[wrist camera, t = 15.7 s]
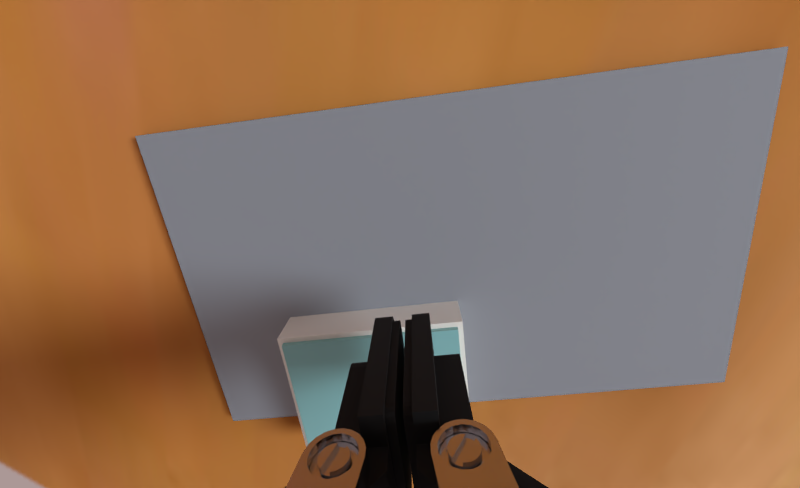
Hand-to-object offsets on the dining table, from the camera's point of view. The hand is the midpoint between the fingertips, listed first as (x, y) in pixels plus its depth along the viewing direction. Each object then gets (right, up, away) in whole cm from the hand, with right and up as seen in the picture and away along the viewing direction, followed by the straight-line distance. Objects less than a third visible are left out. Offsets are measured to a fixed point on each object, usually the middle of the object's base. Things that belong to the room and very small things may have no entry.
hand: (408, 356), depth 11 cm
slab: (-1, +1, +3) cm, 4 cm away
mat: (+2, +3, +4) cm, 5 cm away
